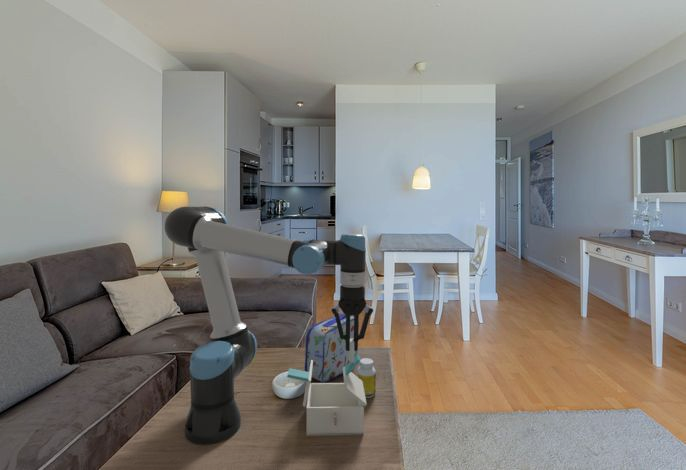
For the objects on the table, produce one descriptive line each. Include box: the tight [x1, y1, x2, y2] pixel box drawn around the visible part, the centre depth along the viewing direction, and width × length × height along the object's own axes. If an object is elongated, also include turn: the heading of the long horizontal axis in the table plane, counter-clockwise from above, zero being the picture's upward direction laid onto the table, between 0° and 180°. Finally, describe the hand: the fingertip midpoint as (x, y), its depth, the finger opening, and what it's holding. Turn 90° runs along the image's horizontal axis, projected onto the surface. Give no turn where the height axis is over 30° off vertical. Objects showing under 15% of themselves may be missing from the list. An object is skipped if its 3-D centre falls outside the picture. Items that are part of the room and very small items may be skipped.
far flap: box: [343, 353, 367, 407], centre depth 104 cm, size 8×13×7 cm
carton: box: [306, 382, 365, 437], centre depth 104 cm, size 16×16×8 cm
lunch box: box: [304, 313, 360, 383], centre depth 136 cm, size 28×10×22 cm, turn 148°
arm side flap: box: [286, 360, 313, 407], centre depth 104 cm, size 8×13×7 cm
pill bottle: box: [356, 357, 377, 399], centre depth 120 cm, size 6×6×12 cm
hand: (351, 360), depth 108 cm, fingers closed
